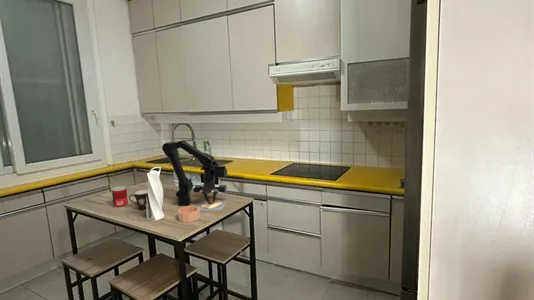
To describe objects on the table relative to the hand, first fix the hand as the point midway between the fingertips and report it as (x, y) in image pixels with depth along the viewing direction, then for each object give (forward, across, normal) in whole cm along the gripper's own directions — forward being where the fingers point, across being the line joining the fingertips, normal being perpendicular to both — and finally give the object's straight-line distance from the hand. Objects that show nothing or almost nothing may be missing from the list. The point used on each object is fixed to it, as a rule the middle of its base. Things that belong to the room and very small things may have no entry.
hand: (211, 202), depth 174 cm
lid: (+2, 0, 0) cm, 2 cm away
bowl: (+2, -7, -19) cm, 20 cm away
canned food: (+2, -57, +2) cm, 57 cm away
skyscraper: (+2, -25, -18) cm, 31 cm away
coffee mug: (+2, -41, -3) cm, 41 cm away
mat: (+2, 0, 0) cm, 2 cm away
